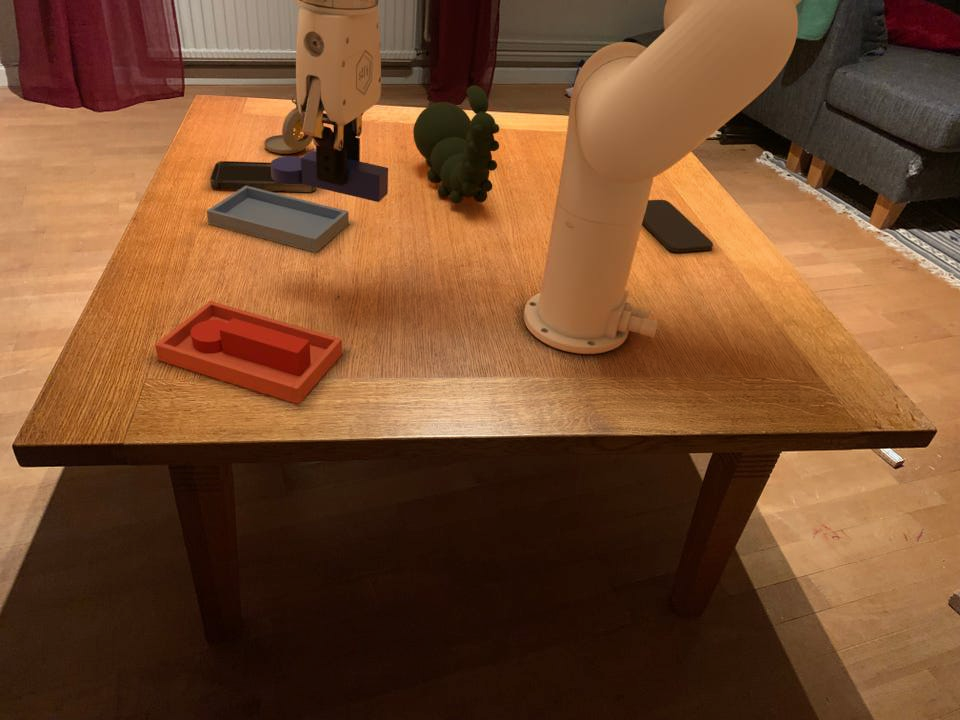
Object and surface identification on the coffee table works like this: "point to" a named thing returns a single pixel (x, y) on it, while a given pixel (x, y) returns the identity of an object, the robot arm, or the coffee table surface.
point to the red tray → (244, 372)
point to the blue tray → (279, 218)
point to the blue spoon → (360, 183)
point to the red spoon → (253, 344)
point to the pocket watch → (290, 134)
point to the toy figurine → (458, 146)
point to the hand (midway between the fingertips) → (338, 175)
